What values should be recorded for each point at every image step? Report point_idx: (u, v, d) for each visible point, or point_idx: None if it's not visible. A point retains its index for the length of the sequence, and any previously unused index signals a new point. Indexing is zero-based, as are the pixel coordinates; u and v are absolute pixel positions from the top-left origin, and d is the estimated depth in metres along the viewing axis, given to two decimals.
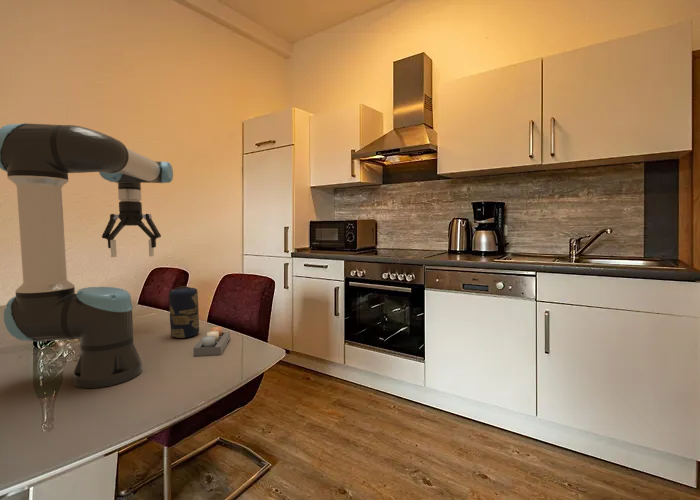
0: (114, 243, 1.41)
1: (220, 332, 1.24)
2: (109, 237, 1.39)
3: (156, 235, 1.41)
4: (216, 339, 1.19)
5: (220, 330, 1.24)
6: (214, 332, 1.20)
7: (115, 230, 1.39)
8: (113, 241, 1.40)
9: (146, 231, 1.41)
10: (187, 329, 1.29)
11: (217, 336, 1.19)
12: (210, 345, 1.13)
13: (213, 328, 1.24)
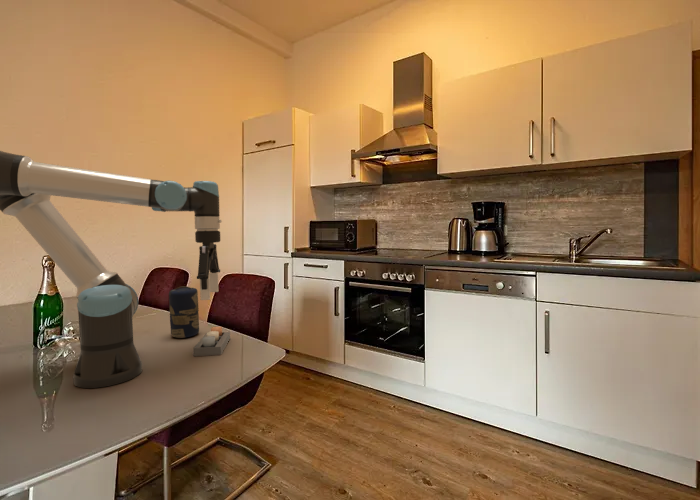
0: (214, 277, 1.25)
1: (220, 332, 1.24)
2: (210, 270, 1.26)
3: None
4: (216, 339, 1.19)
5: (220, 330, 1.24)
6: (214, 332, 1.20)
7: None
8: (211, 274, 1.25)
9: None
10: (187, 329, 1.29)
11: (217, 336, 1.19)
12: (210, 345, 1.13)
13: (213, 328, 1.24)
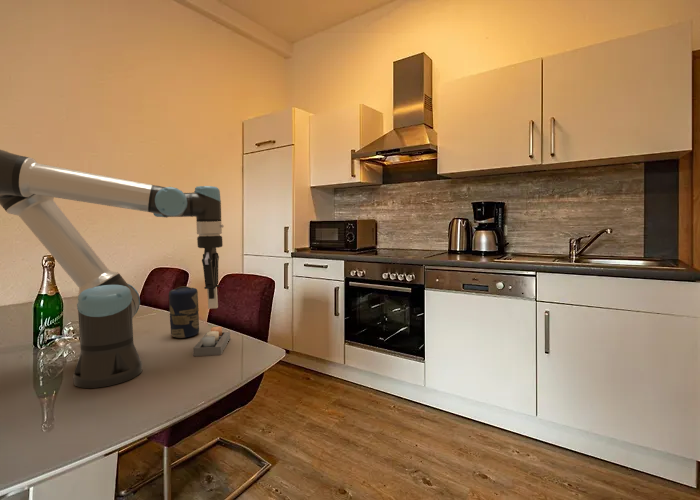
0: None
1: (220, 332, 1.24)
2: None
3: None
4: (216, 339, 1.19)
5: (220, 330, 1.24)
6: (214, 332, 1.20)
7: None
8: None
9: None
10: (187, 329, 1.29)
11: (217, 336, 1.19)
12: (210, 345, 1.13)
13: (213, 328, 1.24)
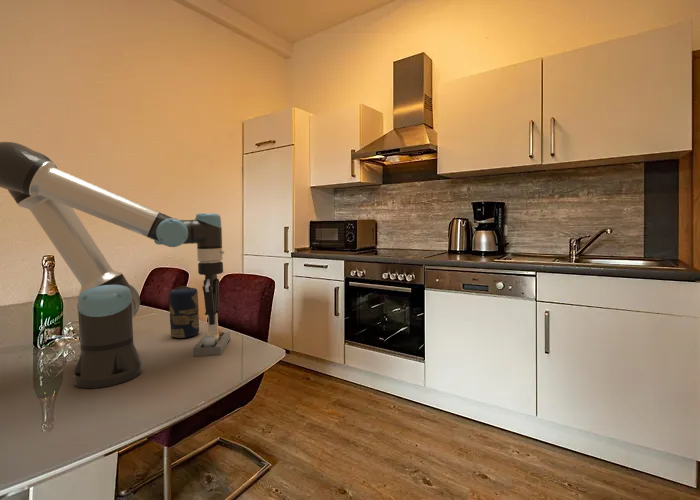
0: None
1: (220, 332, 1.24)
2: None
3: None
4: None
5: (220, 330, 1.24)
6: (214, 334, 1.20)
7: None
8: None
9: None
10: (187, 329, 1.29)
11: (217, 338, 1.19)
12: (210, 345, 1.13)
13: None
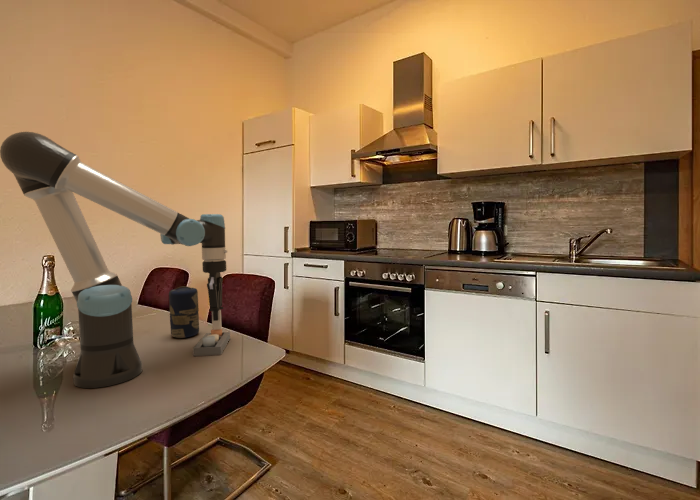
0: None
1: (220, 334, 1.24)
2: None
3: None
4: None
5: (220, 332, 1.24)
6: (214, 335, 1.20)
7: None
8: None
9: None
10: (187, 329, 1.29)
11: (217, 340, 1.19)
12: (210, 345, 1.13)
13: (213, 330, 1.25)
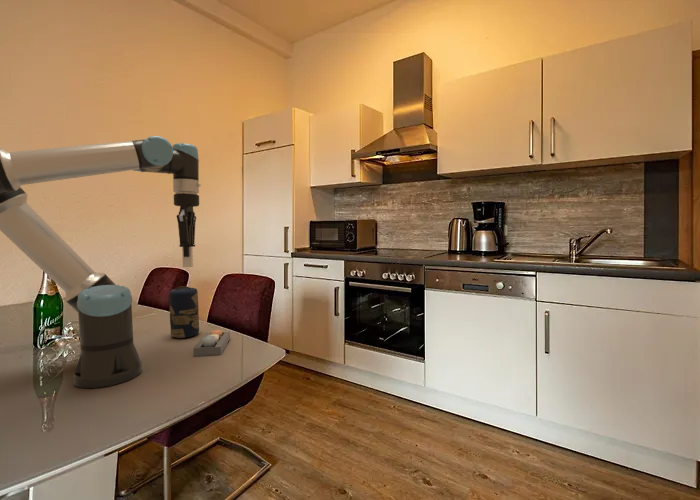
0: None
1: (220, 335, 1.24)
2: None
3: None
4: None
5: (220, 333, 1.24)
6: (214, 335, 1.20)
7: None
8: None
9: None
10: (187, 329, 1.29)
11: (217, 340, 1.19)
12: (210, 345, 1.13)
13: (213, 331, 1.25)
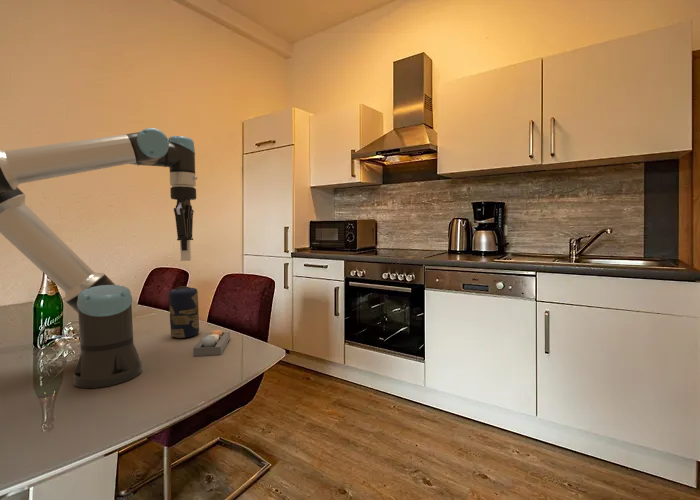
0: None
1: (220, 335, 1.24)
2: None
3: None
4: None
5: (220, 333, 1.24)
6: (214, 335, 1.20)
7: None
8: None
9: None
10: (187, 329, 1.29)
11: (217, 340, 1.19)
12: (210, 345, 1.13)
13: (213, 331, 1.25)
